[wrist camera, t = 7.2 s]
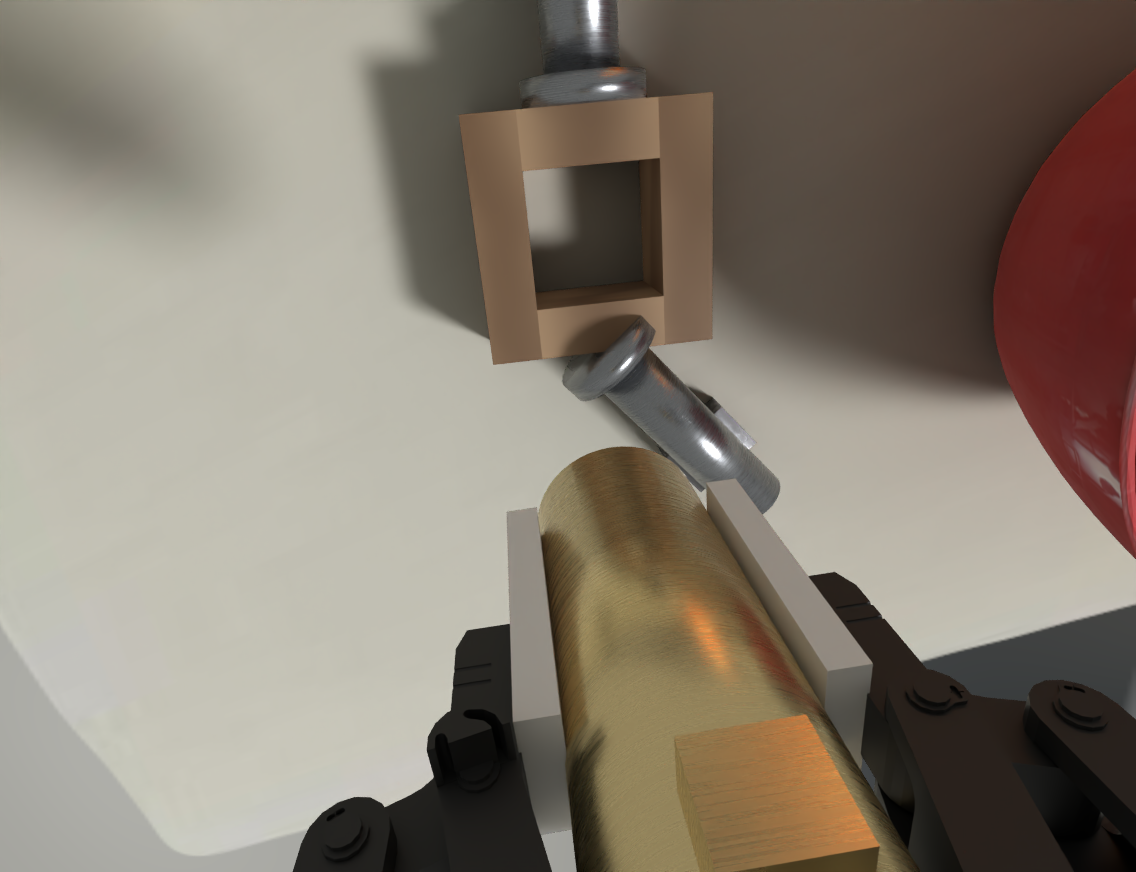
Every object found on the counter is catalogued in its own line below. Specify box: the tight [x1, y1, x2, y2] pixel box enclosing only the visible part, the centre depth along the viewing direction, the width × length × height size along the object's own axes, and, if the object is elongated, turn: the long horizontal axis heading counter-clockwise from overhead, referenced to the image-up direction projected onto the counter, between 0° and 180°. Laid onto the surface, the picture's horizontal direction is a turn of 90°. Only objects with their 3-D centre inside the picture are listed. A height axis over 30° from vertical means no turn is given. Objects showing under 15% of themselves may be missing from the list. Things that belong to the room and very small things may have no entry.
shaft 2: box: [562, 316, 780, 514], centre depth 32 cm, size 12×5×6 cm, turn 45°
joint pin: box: [538, 447, 921, 872], centre depth 12 cm, size 4×6×12 cm
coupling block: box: [459, 92, 713, 365], centre depth 29 cm, size 10×10×4 cm
